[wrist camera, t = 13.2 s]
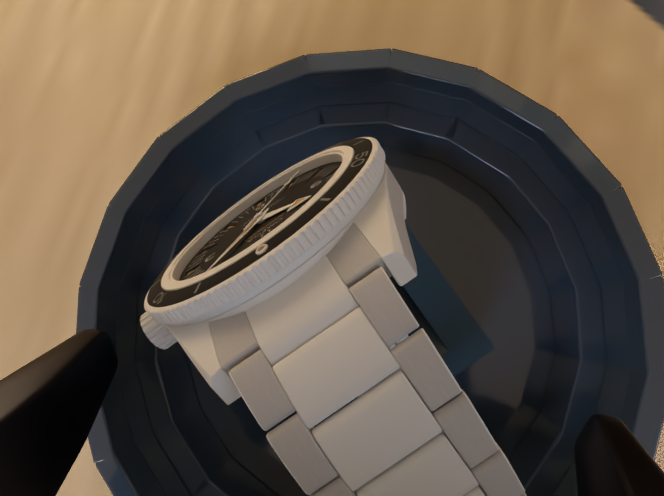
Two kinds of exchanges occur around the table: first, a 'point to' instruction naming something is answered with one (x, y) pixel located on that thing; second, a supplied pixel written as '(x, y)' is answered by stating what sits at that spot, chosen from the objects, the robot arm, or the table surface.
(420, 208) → the bowl
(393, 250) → the watch
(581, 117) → the table surface
